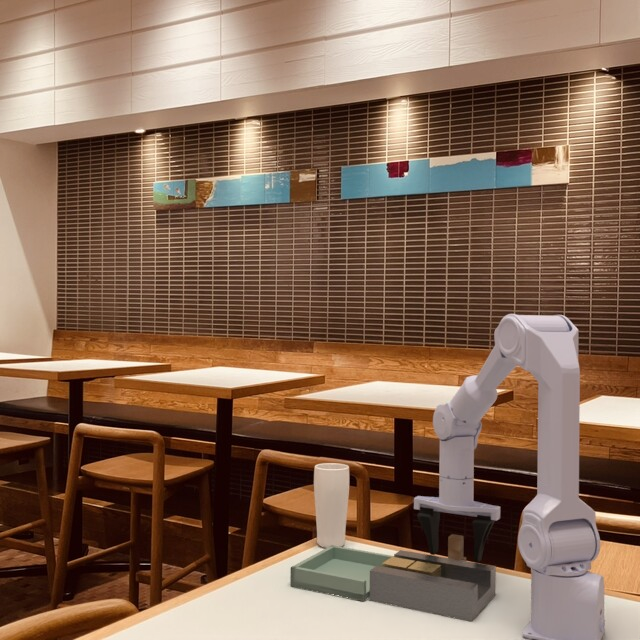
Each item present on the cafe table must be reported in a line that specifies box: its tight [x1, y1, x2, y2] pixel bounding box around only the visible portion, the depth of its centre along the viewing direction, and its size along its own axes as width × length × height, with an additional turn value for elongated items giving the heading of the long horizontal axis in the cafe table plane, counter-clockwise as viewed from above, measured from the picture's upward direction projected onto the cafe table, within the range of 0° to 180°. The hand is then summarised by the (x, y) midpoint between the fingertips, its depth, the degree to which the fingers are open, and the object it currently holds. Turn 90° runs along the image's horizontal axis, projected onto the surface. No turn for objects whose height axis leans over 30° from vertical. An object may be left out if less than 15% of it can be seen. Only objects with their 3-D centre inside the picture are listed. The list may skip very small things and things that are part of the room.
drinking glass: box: [313, 462, 350, 549], centre depth 141 cm, size 7×7×15 cm
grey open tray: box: [369, 549, 497, 622], centre depth 114 cm, size 16×12×4 cm
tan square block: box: [407, 561, 441, 577], centre depth 115 cm, size 4×4×2 cm
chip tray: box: [289, 545, 394, 602], centre depth 121 cm, size 13×14×3 cm
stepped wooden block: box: [447, 533, 467, 561], centre depth 125 cm, size 2×5×6 cm, turn 151°
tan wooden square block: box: [382, 557, 415, 571], centre depth 117 cm, size 4×4×2 cm
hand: (455, 556), depth 125 cm, fingers open, 7 cm apart
